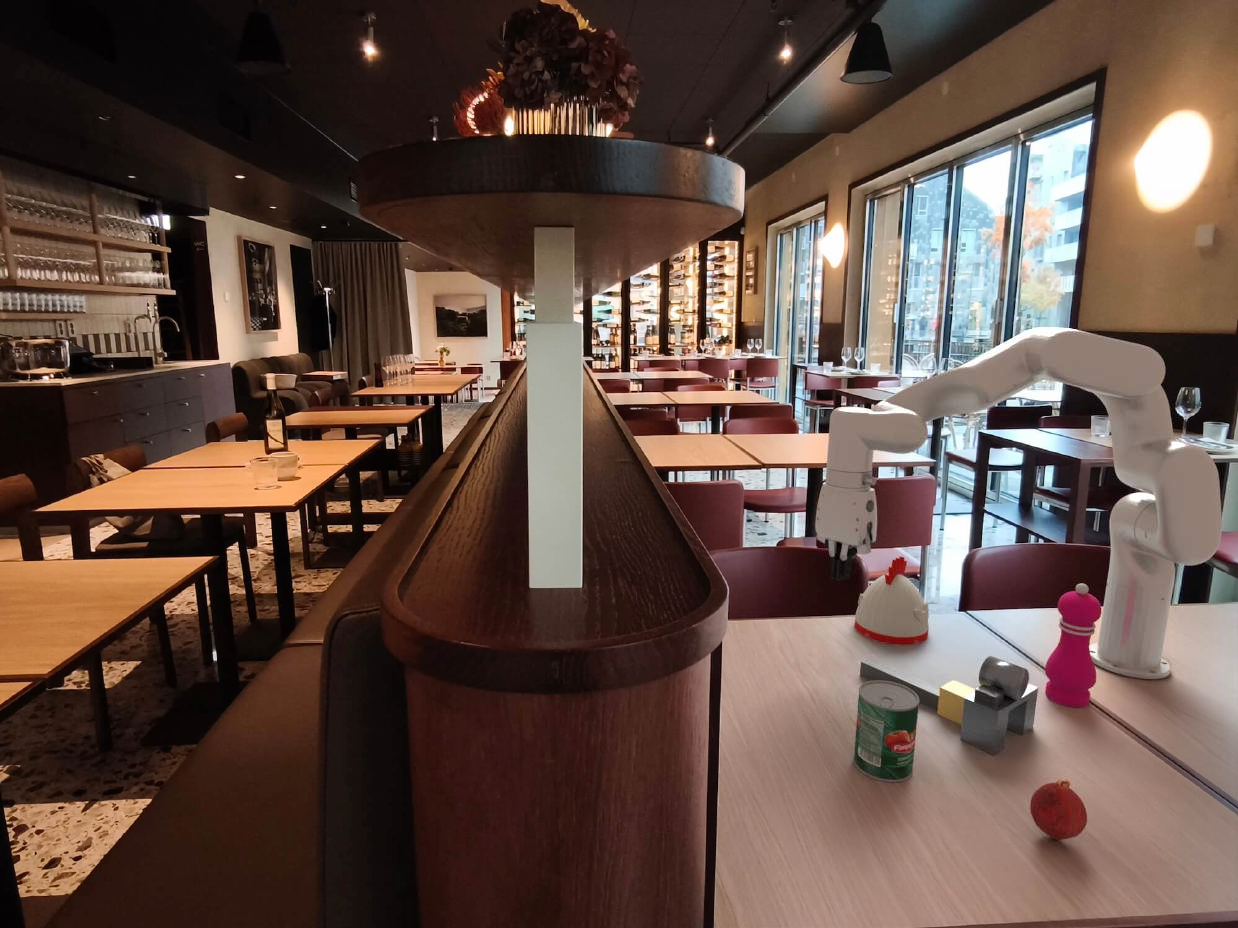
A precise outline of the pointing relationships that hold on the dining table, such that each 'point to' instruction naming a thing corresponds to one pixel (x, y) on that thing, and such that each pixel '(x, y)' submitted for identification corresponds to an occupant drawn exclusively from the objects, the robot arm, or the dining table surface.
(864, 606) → the kitchen timer
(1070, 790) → the red rounded piece
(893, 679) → the yellow tipped gray bar
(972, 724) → the block
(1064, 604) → the pepper mill
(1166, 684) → the dining table surface
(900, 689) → the canned tomato
